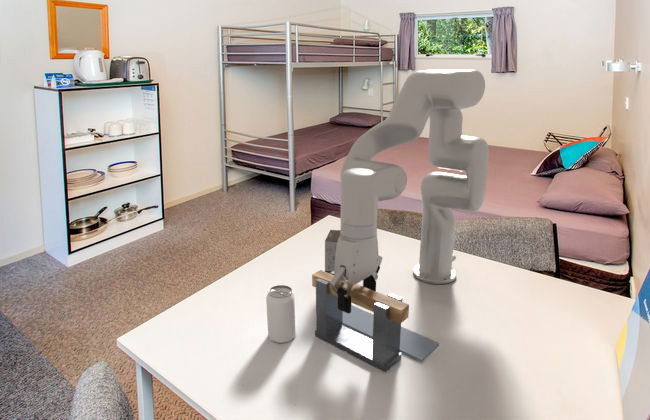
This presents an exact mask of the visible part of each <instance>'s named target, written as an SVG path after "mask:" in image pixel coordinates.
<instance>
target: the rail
mask: <svg viewBox="0 0 650 420" xmlns="http://www.w3.org/2000/svg"><path fill="white" fill-rule="evenodd" d="M333 277H334V275H332V274H330V273H327V272H325V270H321V269H319V270H318V271H316V272H314V273H312V274H311V280H312V281H311V283H312V284H311V286H312V287H314V288H316V280H317V279H322V280H324V281H327V282H329V293H330V294H332V295H335V296H337V297H338V294H336V292H335V291H334V290H333V288H332V286H331V285H330V282H331V280H332V279H333ZM345 281H348V280H345ZM348 282H349V281H348ZM346 288H347V284H345V283H344V285H343V289H344V290H346ZM349 296H351V304H353V305H356V306H358V307H361V308H363V309H365V310H368V311H370V312H371V313H374V304H375V303H376V302H378V303H381V304H383V305H386V306H388V307H389V319H391V320H393V321H395V322H398V323H400V324H401V325H402V323H403V322H404V321H406V320H407V319H408V318H409V315H410V314H409V313H410V304H409V303H407V302H403V301H402V302H401V301H399V300H396V299H394V298H391V297H389V296H387V295H386V294H383V293H381V292H378V291H377V290H376V291H373V290H371V289H368V288H366V287H363V285H360V284H359V283H357V284H355V285H353V287H352V289H351V292H350V294H349Z"/></svg>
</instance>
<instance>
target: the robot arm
mask: <svg viewBox="0 0 650 420" xmlns="http://www.w3.org/2000/svg"><path fill="white" fill-rule="evenodd" d="M485 91H486V80H485V78H484V75H483V74H482V72H481V71H479V70H477V69H447V68H445V69H442V68H441V69H440V68H438V69H426V70H417V71H414V72H412V73H411V74H410V75H408V76H407V78H406V79H405V81H404V83H403V85H402V87H401V89H400V91H399V93H398V95H397V97H396V99H395V101H394V103H393V105H392V107H391V109H390V112H389V113H388V115H387V117H386V118H385V119H384V120H383V121H380V122H379V123H377V124H376V125H374V126H372V127H371V128H370V129H369V130H367V131H366V132H365V133H363V134H362V135H361V136H359V138H358V139H356V141H355V142H354V143H353V145H352V146H351V148H350V150H349V152H348V154H347V156H346V158H345V160H344V162H343V165H342V167H341V170H340V230H341V232H340V235H341V236H340V237H339V238H338V242H337V247H336V255H335V269H334V277H333V279H332V280H331V282H330V285H331V286H332V288H333V290H334V291H335V292H336V294H338V309H339V310H341V311H344V312H346V313H348V314H349V313H351V305H352V303H351V296H349V294H350V292H351V289H352V287H353V285H355V284H359V283H361V282H362V286H363V287H366V288H368V289H371V290H373V291H376V292H377V280H378V279H379V275H378V273H379V271H380V268H381V264H382V261H383V256H382V255H380V254H379V240H378V239H379V238H378V230H377V229H378V207H379V205H378V204H379V203H380V202H383V201H390V200H393V199H396V198H397V197H400V195H401V194H402V193H403V192H404V191H405V189H406V186H407V184H408V177H407V173H406V171H405V170H404V168H402V167H401V166H399V165H397V164H394V163H389V162H382V161H378V160H372V159H373V158H374V157H375V156H377V155H378V154H380V153H381V152H383V151H385V150H389V149H391V148H396V147H398V146H402V145H405V144H408V143H411V142H413V141H416V140H418V139H419V138H420V137H421V135H422V134H423V131H424V128H425V127H426V124H427V122H428V119H429V131H428V147H427V148H428V151H427V153H428V154H427V155H428V162H429V164H430V165H431V166H432V167H435V168H438V169H442V170H443V169H444V170H449V171H454V172H455V171H457V172H463V173H465V175H462V174H457V173H450V172H444V171H432V172H429V173H426V174H425V176H424V177H423V178H422V180H421V183H420V196H421V205H422V206H421V207H422V215H421V216H422V217H421V228H420V229H421V231H420V232H421V233H420V245H419V258H418V259H419V262H418V264H416V265H415V266H414V267H413V271H412V272H413V273H412V274H413V275H414V276H415V278H416V279H418V280H419V281H422V282H425V283H428V284H434V285H445V284H449V283H451V282H454V281H455V280H456V279H457V271H456V270H455V269H454V268H453V262H454V261H456V259H457V256H456V254H454V245H455V235H456V234H455V233H456V227H457V226H456V223H457V222H456V217H455V213H454V212H453V210H452V209H454V210H458V211H464V212H472V213H474V212H477V211H479V210H480V209H481V208H482V207H483V205H484V202H485V198H486V197H485V196H486V191H487V179H488V170H489V157H490V150H489V144H488V142H487V141H486V140H485V139H483V138H482V137H478V136H470V135H464V134H463V117H464V116H463V113H462V110H464V109H468V108H472V107H474V106H476V105H478V103H480V102H481V100H482V98H483V96H484V95H485ZM346 278H347V280H349V282H348V281H345V279H346ZM344 283H345V284H347V288H346V290H344V289H343V285H344Z"/></svg>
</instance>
